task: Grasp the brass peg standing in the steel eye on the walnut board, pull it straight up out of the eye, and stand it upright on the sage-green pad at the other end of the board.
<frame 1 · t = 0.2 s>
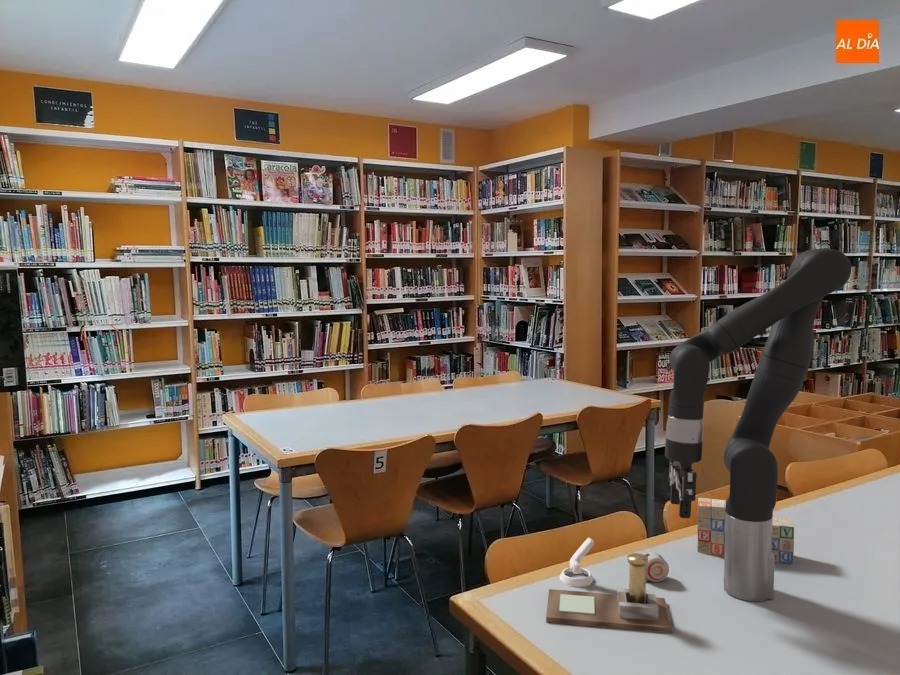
hand: (679, 510, 141), 18 cm above the table, tool pointing down, fingers open, 8 cm apart
brass peg: (637, 609, 132), point 1 cm above the table, touching walnut board
roller toy: (653, 579, 147), on the table
white vr controller: (576, 580, 148), on the table
stack of blocks: (743, 554, 160), on the table
walnut board: (606, 612, 133), on the table
sage pad: (577, 604, 134), resting on walnut board
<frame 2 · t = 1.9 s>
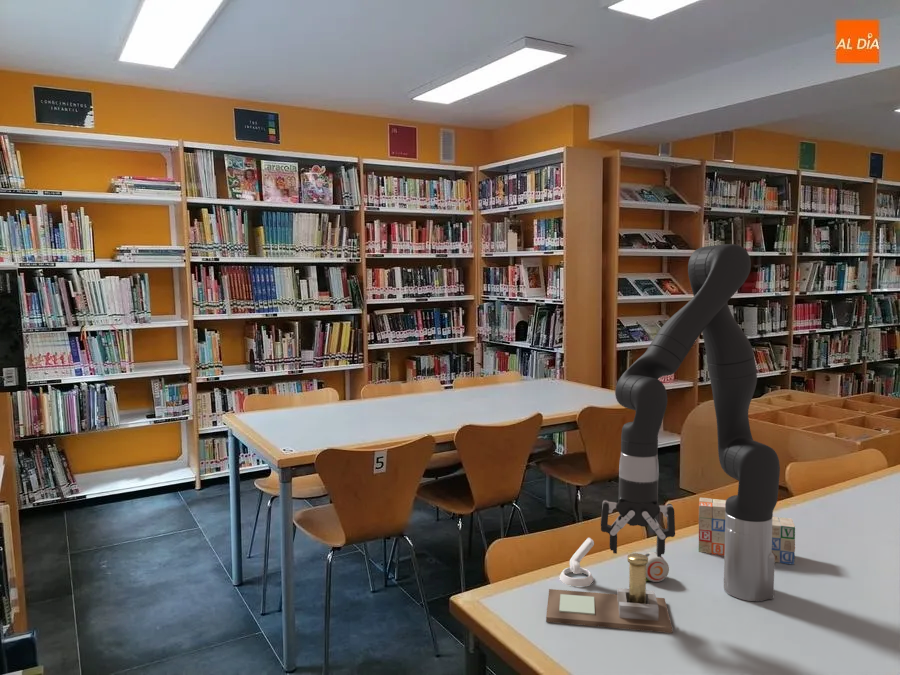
hand: (636, 553, 131), 13 cm above the table, tool pointing down, fingers open, 8 cm apart
nothing on the table moved.
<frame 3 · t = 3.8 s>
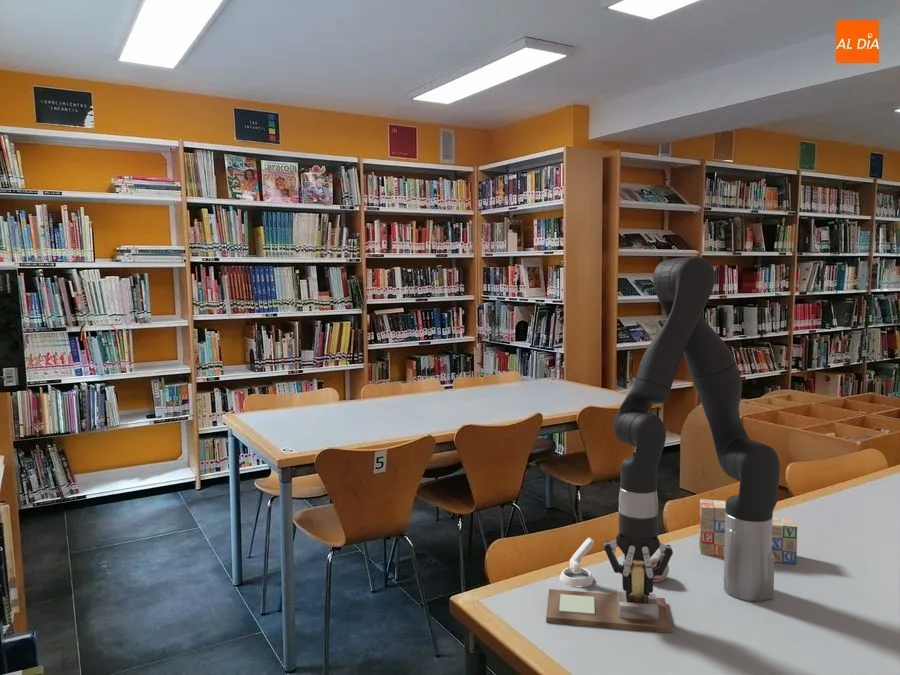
hand: (637, 592, 131), 5 cm above the table, tool pointing down, fingers closed on brass peg, 3 cm apart
brass peg: (637, 609, 132), point 1 cm above the table, touching gripper, walnut board
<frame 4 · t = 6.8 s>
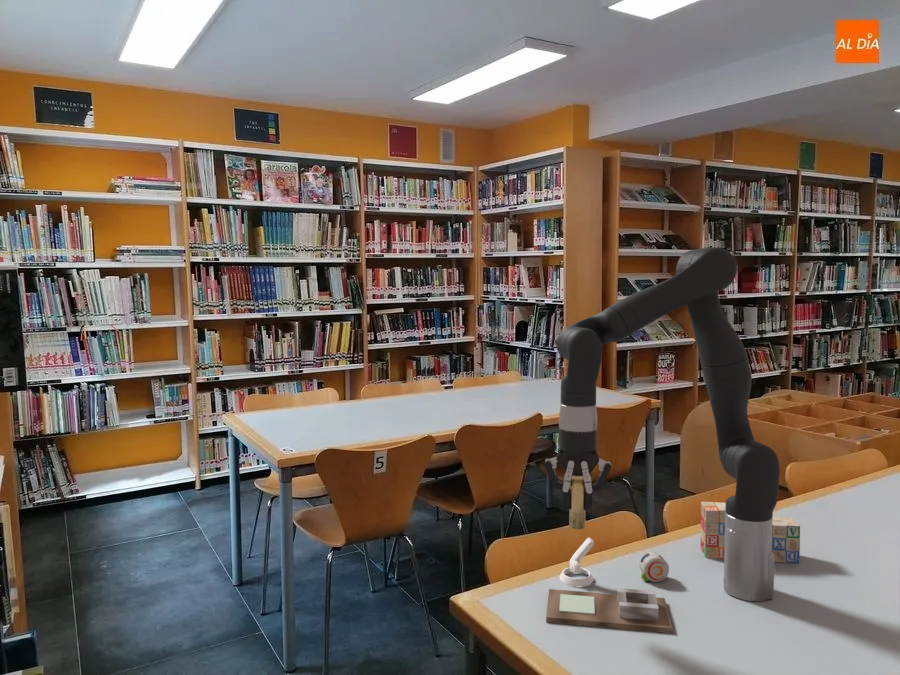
hand: (577, 508, 132), 21 cm above the table, tool pointing down, fingers closed on brass peg, 3 cm apart
brass peg: (577, 526, 132), point 18 cm above the table, touching gripper
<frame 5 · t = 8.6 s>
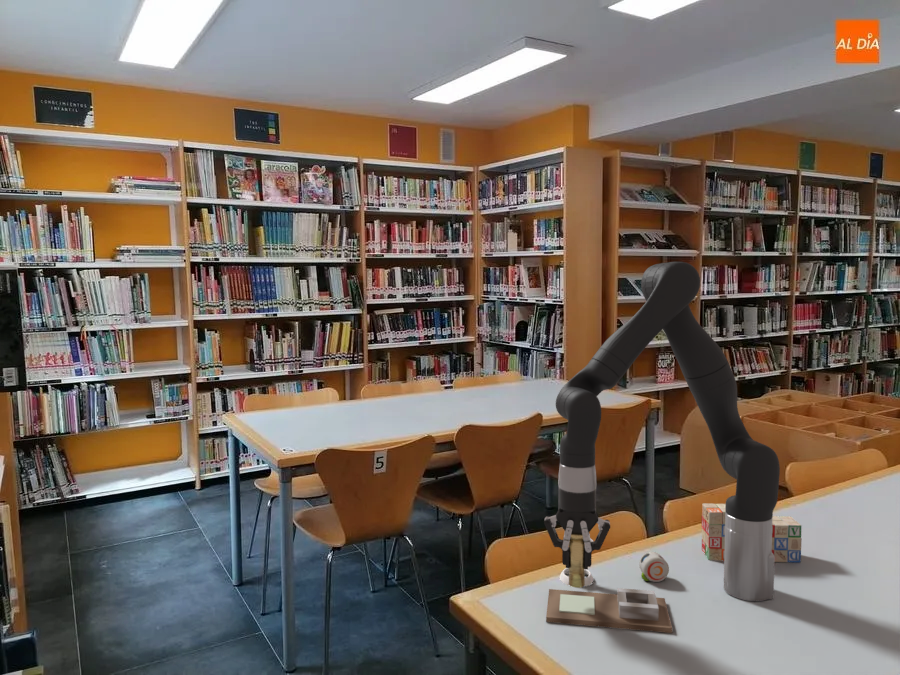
hand: (576, 566, 133), 9 cm above the table, tool pointing down, fingers closed on brass peg, 3 cm apart
brass peg: (576, 583, 134), point 5 cm above the table, touching gripper
when the fingers open (6 cm above the table, at t = 9.9 s): brass peg stays where it is, resting on sage pad.
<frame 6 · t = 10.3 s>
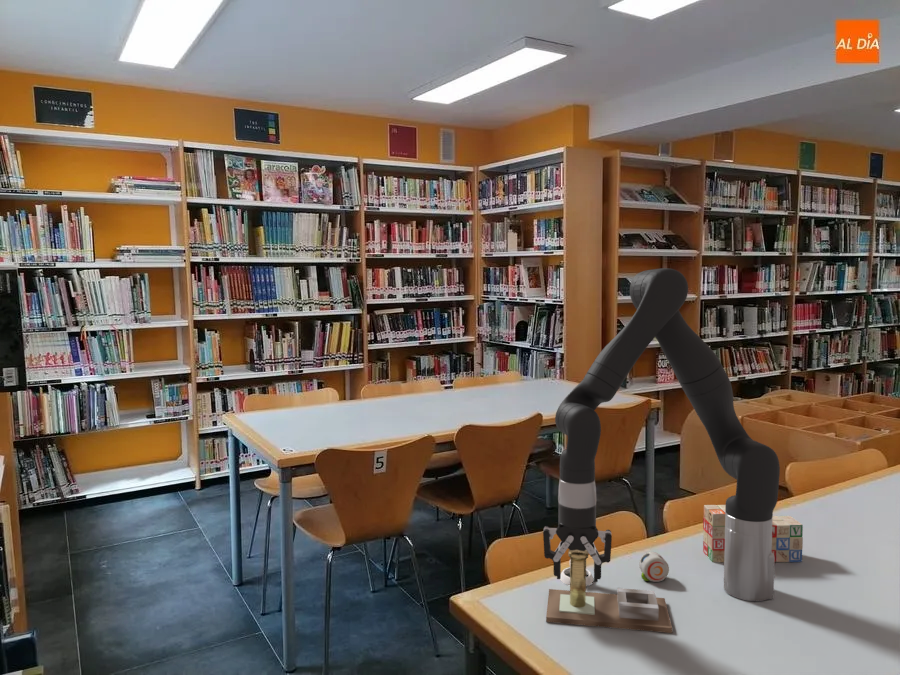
hand: (577, 578, 133), 7 cm above the table, tool pointing down, fingers open, 7 cm apart
brass peg: (577, 603, 134), point 1 cm above the table, touching sage pad
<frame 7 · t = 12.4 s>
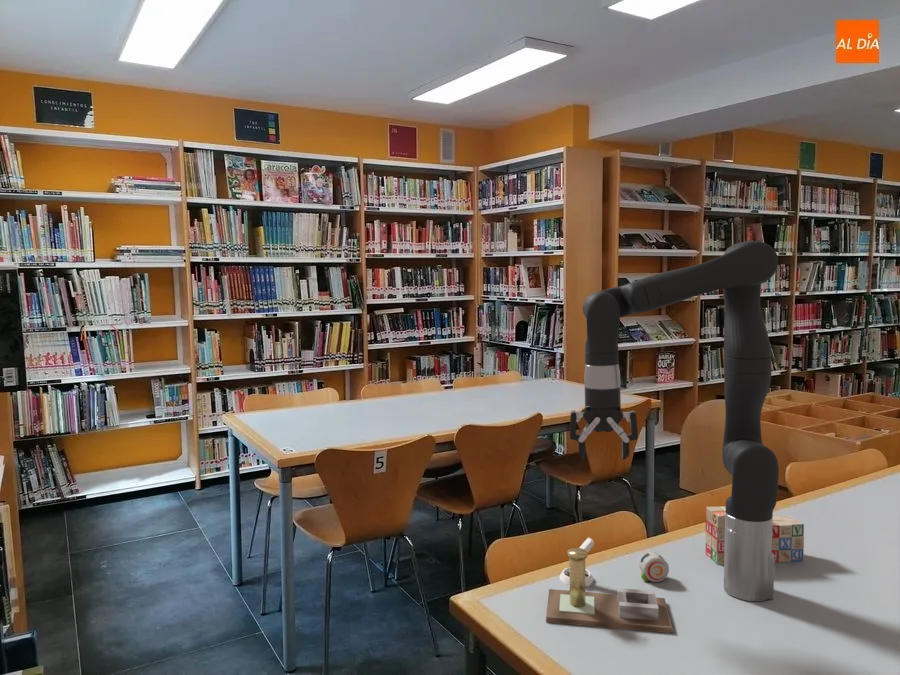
hand: (603, 458, 141), 29 cm above the table, tool pointing down, fingers open, 8 cm apart
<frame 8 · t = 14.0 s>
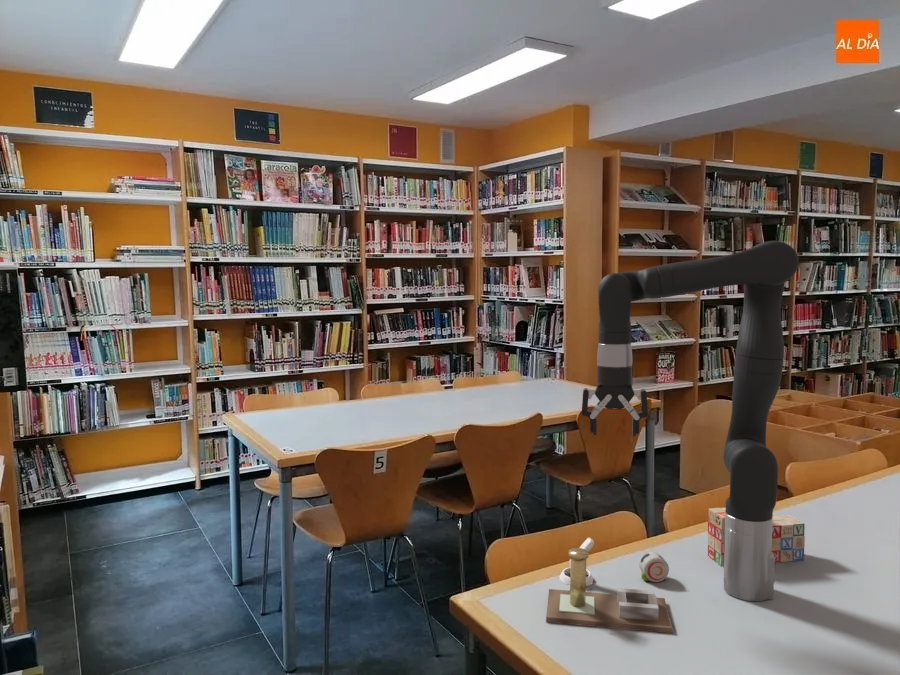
hand: (614, 435, 145), 33 cm above the table, tool pointing down, fingers open, 8 cm apart
at the end: brass peg 0.1 cm off-centre on the sage pad, point 0.3 cm above the sage pad's base; brass peg tilted 1°; the gripper is holding nothing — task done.
